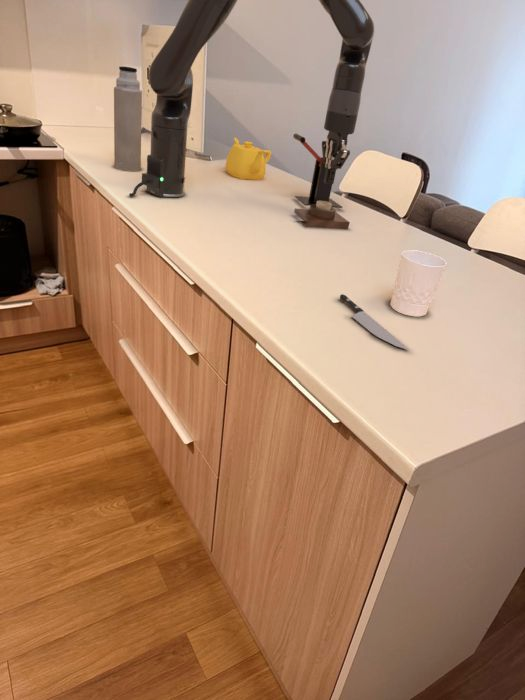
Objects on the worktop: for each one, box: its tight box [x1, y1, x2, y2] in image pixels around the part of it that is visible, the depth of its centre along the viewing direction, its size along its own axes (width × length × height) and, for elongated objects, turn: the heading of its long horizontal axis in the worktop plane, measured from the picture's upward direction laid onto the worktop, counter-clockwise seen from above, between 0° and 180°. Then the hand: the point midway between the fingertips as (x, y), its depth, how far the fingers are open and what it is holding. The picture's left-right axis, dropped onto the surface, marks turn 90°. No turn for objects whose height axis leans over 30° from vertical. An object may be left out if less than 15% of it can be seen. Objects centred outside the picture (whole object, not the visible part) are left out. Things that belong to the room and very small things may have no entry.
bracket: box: [294, 156, 343, 209], centre depth 149 cm, size 12×9×13 cm
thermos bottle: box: [113, 66, 143, 172], centre depth 152 cm, size 8×8×28 cm
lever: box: [293, 133, 322, 166], centre depth 144 cm, size 14×6×2 cm
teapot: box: [225, 137, 272, 181], centre depth 172 cm, size 22×16×11 cm
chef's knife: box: [339, 293, 409, 351], centre depth 86 cm, size 19×1×3 cm
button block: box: [293, 204, 350, 230], centre depth 135 cm, size 12×10×4 cm
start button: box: [316, 201, 332, 210], centre depth 134 cm, size 4×4×2 cm
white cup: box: [389, 249, 448, 318], centre depth 92 cm, size 8×8×10 cm
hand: (328, 183), depth 131 cm, fingers closed
